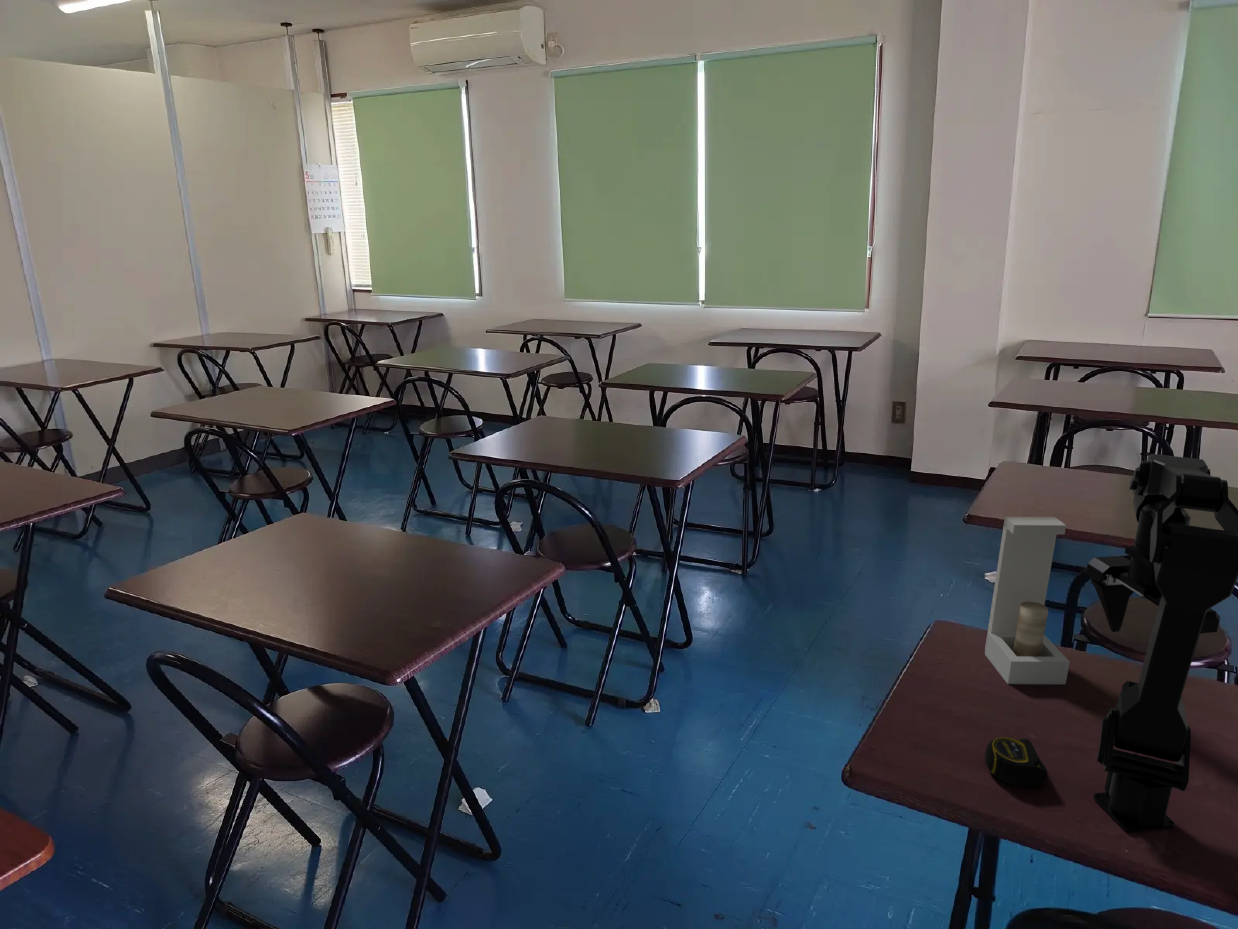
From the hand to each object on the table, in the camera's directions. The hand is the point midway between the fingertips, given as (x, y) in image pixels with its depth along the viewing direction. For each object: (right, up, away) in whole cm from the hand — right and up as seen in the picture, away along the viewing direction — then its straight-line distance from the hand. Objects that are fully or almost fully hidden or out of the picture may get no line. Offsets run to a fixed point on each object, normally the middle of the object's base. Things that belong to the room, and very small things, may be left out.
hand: (1137, 647), depth 121 cm
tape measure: (-20, -15, -7) cm, 27 cm away
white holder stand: (-8, -7, +17) cm, 20 cm away
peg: (-8, -7, +17) cm, 20 cm away
